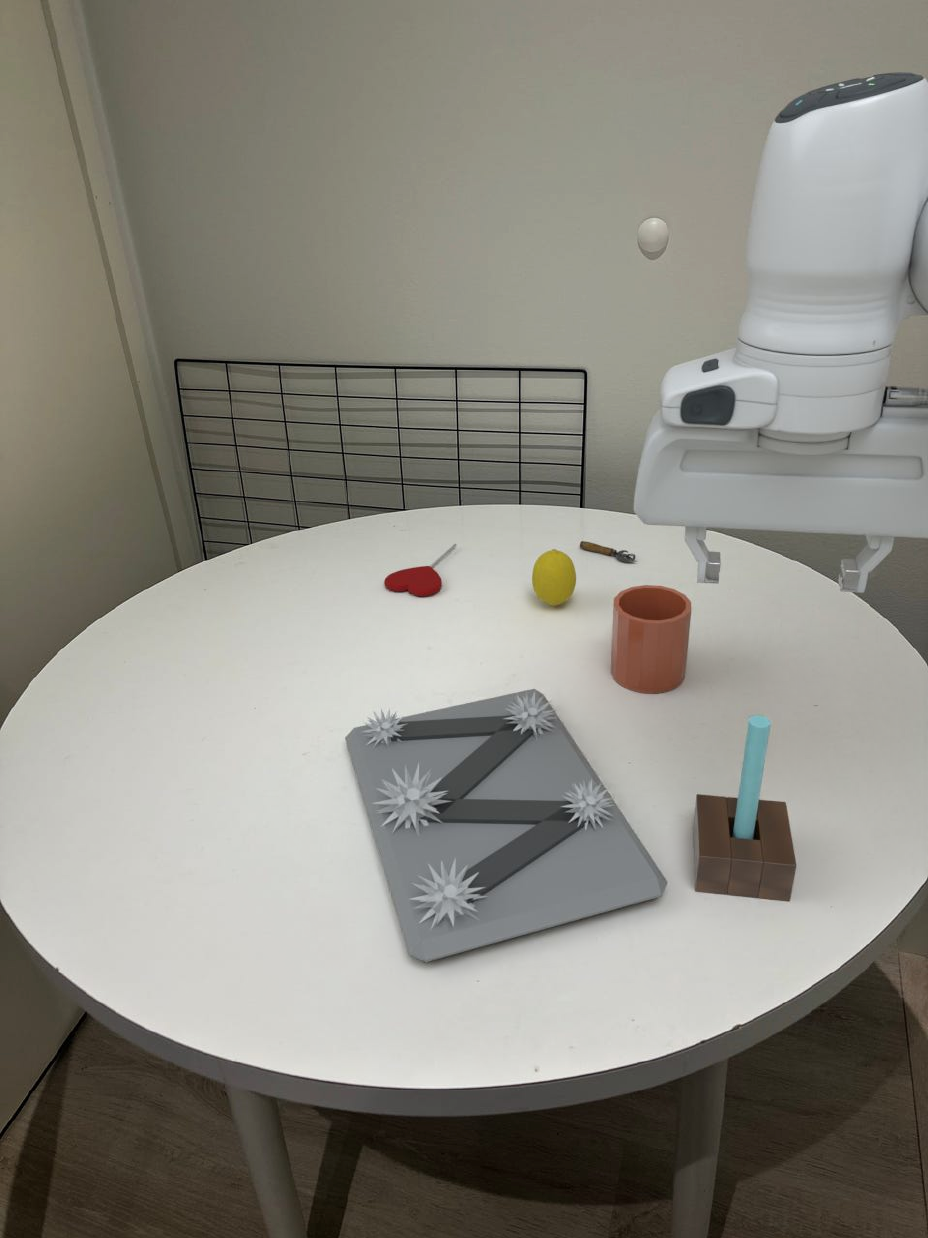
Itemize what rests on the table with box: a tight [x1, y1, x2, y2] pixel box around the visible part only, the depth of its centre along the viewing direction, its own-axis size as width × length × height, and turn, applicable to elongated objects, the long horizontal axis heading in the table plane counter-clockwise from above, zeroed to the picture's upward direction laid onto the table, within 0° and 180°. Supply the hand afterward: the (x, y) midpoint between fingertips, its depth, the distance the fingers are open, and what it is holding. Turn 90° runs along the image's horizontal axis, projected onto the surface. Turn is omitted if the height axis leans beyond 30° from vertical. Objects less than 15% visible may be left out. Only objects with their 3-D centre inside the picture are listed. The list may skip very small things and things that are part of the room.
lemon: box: [531, 548, 577, 607], centre depth 113 cm, size 6×6×8 cm
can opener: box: [579, 540, 637, 563], centre depth 126 cm, size 9×2×1 cm, turn 49°
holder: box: [692, 793, 798, 902], centre depth 75 cm, size 7×7×4 cm
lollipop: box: [383, 543, 457, 597], centre depth 125 cm, size 8×1×15 cm
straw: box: [732, 714, 772, 839], centre depth 72 cm, size 2×2×15 cm
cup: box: [610, 584, 693, 695], centre depth 98 cm, size 8×8×9 cm
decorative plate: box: [345, 688, 668, 963], centre depth 80 cm, size 30×22×7 cm
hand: (777, 584), depth 62 cm, fingers open, 8 cm apart
